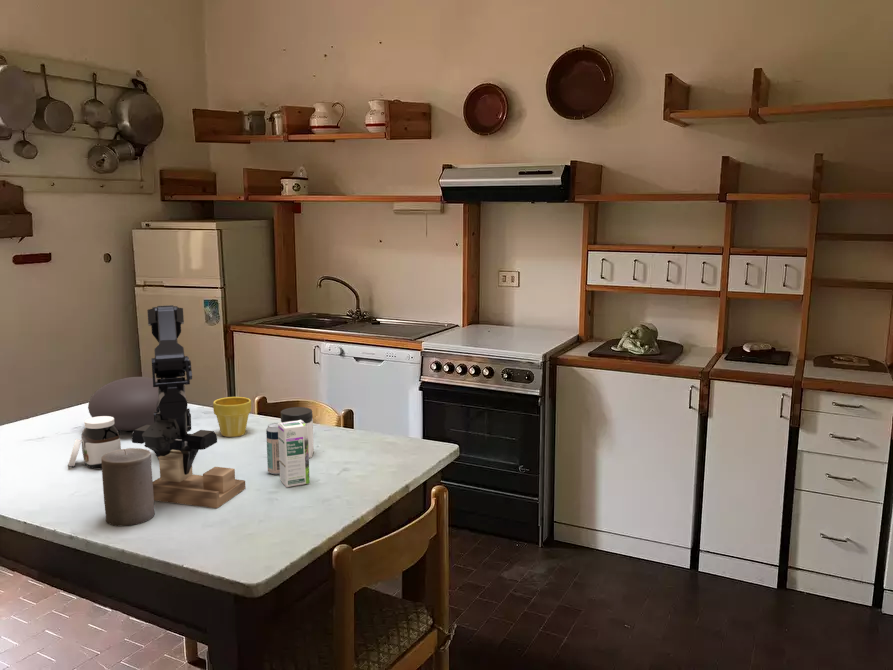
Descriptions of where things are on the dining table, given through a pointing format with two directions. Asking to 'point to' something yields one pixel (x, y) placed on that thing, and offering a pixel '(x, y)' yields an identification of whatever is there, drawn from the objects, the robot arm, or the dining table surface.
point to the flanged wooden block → (173, 467)
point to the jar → (305, 416)
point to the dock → (193, 492)
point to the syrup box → (293, 453)
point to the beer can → (273, 449)
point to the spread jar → (96, 441)
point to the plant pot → (232, 415)
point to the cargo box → (219, 479)
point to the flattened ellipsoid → (126, 402)
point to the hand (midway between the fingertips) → (176, 472)
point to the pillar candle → (128, 486)
